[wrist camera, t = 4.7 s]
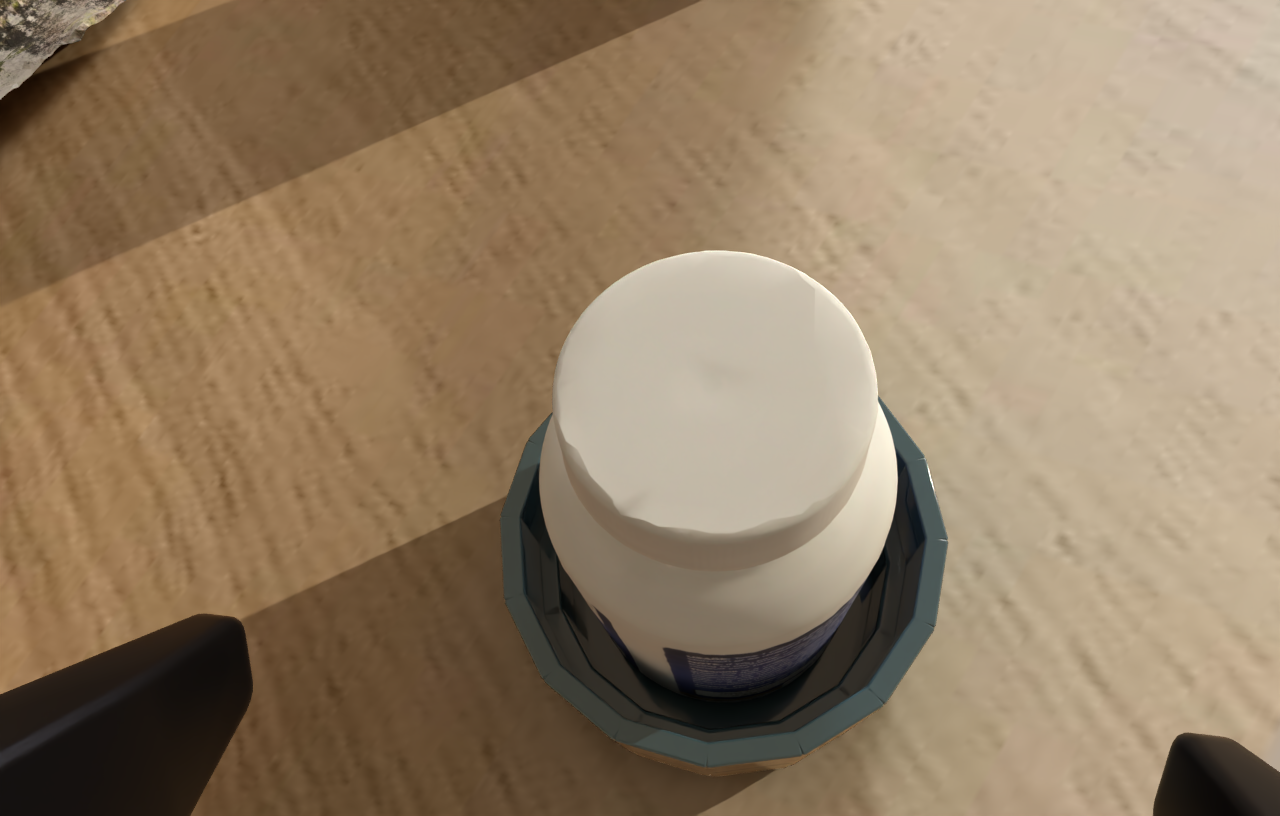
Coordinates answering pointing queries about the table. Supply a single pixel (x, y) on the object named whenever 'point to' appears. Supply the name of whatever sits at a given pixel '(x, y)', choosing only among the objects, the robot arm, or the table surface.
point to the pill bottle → (718, 470)
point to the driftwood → (41, 32)
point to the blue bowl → (735, 731)
